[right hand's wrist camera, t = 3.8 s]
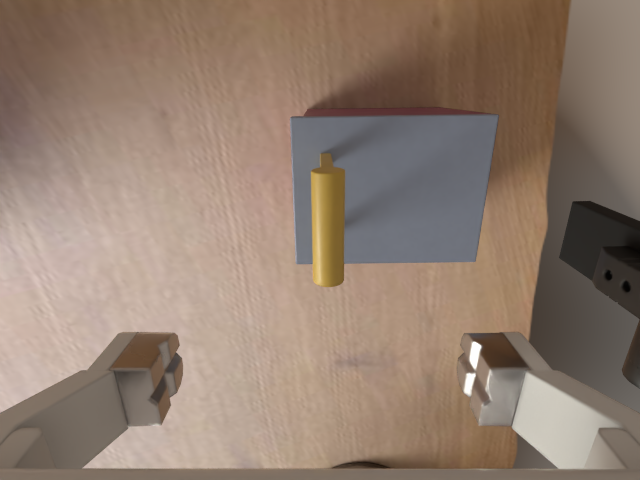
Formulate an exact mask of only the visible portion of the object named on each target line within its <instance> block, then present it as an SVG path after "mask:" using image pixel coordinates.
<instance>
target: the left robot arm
mask: <svg viewBox="0 0 640 480" xmlns="http://www.w3.org/2000/svg"><path fill="white" fill-rule="evenodd" d="M559 258H560V259H561V260H563V261H564V262H566V263H567V264H569V265H570V266H572V267H573V268H574V269H576V270H577V271H579V272H580V273H582V274H583V275H585V276H586V277H587V278H589V279H590V280H592V282H593V284H594V285H595V287H596V288H597V289H598V290H600V291H601V292H602V293H604V294H605V295H607V296H609V298H611V299H612V300H614V301H615V302H618V304H619V305H621V306H622V307H623V308H625V309H626V310H628V311H629V312H631V313H632V314H633V315H635V316H636V317H638V318H639V319H640V221H638V220H635V219H633V218H630V217H628V216H626V215H623V214H621V213H618V212H616V211H613V210H611V209H608V208H606V207H603V206H601V205H598V204H596V203H593V202H591V201H574V202H573V203H572V207H571V211H570V215H569V219H568V224H567V228H566V232H565V236H564V240H563V244H562V248H561V252H560V257H559ZM622 372H623V375H624V376H625V377H626V379H627V380H628V381H629V382H631V383H632V384H634V385H635V386H637V387H638V388H640V320H639V323H638V326H637V329H636V331H635V334H634V337H633V340H632V343H631V346H630V348H629V351H628V354H627V357H626V360H625V362H624V365H623V368H622ZM332 469H389V468H387V467H384V466H381V465H377V464H371V463H351V464H345V465H341V466H337V467H334V468H332Z"/></svg>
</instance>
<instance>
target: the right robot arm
mask: <svg viewBox="0 0 640 480" xmlns="http://www.w3.org/2000/svg"><path fill="white" fill-rule="evenodd" d="M178 347H179V340H178V335H176V334H175V333H159V332H140V333H139V332H122V333H119V334H118V335H117V336H116V337H115V338H114V339H113V341H112V342H111V343H110V344H109V345H108V346H107V348H106V349H105V350H104V351H103V352H102V354H101V355H100V356H99V357H98V358H97V359H96V361H95V362H94V363H93V364H92V365H91V367H90V368H89V369H88V370H83V371H79V372H78V373H76V374H74V375H72V376H70V377H68V378H66V379H64V380H62V381H60V382H59V383H57V384H55V385H53V386H51V387H49V388H47V389H45V390H43V391H41V392H39V393H38V394H36V395H34V396H32V397H30V398H28V399H26V400H24V401H22V402H20V403H18V404H17V405H15V406H13V407H11V408H9V409H7V410H5V411H3V412H1V413H0V480H640V413H638V412H637V411H635V410H633V409H631V408H629V407H627V406H625V405H623V404H621V403H619V402H618V401H616V400H614V399H612V398H610V397H608V396H606V395H604V394H602V393H600V392H599V391H597V390H595V389H593V388H591V387H589V386H587V385H585V384H583V383H581V382H579V381H578V380H576V379H574V378H572V377H570V376H568V375H566V374H564V373H562V372H561V371H558V370H552V369H551V368H550V367H549V365H548V364H547V363H546V362H545V361H544V359H543V358H542V357H541V356H540V355H539V354H538V352H537V351H536V350H535V349H534V348H533V347H532V345H531V344H530V343H529V342H528V341H527V339H526V338H525V337H524V336H523V335H522V334H521V333H519V332H500V333H464V334H463V336H462V339H461V347H462V349H463V351H464V353H463V354H462V355H461V356H460V357H459V358H458V363H457V375H458V381H459V384H460V387H461V389H462V391H463V393H464V394H466V395H467V396H469V397H470V403H469V406H470V408H471V410H472V412H473V414H474V416H475V418H476V420H477V422H478V424H479V425H480V426H512V429H513V430H515V431H516V432H517V433H518V434H519V435H520V436H522V437H523V438H524V439H525V440H526V441H527V442H529V443H530V444H531V445H532V446H533V447H534V448H535V449H537V450H538V451H539V452H540V453H541V454H542V455H544V456H545V457H546V458H547V459H548V460H549V461H550V462H552V463H553V464H554V465H555V466H556V467H557V468H559V469H82V468H83V467H84V466H85V465H86V464H87V463H88V462H90V461H91V460H92V459H93V458H94V457H95V456H97V455H98V454H99V453H100V452H101V451H102V450H104V449H105V448H106V447H107V446H108V445H109V444H110V443H112V442H113V441H114V440H115V439H116V438H117V437H119V436H120V435H121V434H122V433H123V432H124V431H126V430H127V429H128V426H159V425H162V422H163V420H164V418H165V416H166V414H167V412H168V410H169V408H170V406H171V403H170V397H171V396H173V395H174V394H176V393H177V391H178V389H179V387H180V385H181V380H182V376H183V362H182V358H181V357H180V356H179V355H178V354H177V353H176V351H177V349H178Z"/></svg>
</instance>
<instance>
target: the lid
mask: <svg viewBox="0 0 640 480" xmlns="http://www.w3.org/2000/svg"><path fill="white" fill-rule="evenodd" d="M498 118H499V115H497V114H452V115H374V116H296V117H291V118H290V129H291V154H292V179H293V204H294V229H295V254H296V264H313V281H314V282H315V283H316V284H317V285H319V286H323V287H334V286H338V285H340V284H341V283H342V282H343V281H344V264H350V263H427V262H475V261H476V256H477V249H478V243H479V237H480V231H481V224H482V218H483V212H484V206H485V199H486V193H487V187H488V180H489V174H490V168H491V162H492V155H493V149H494V143H495V137H496V130H497V124H498Z"/></svg>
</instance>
